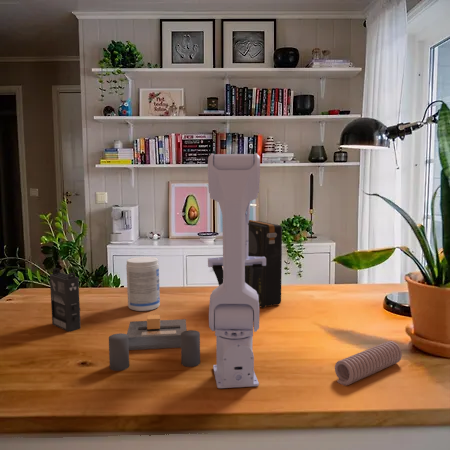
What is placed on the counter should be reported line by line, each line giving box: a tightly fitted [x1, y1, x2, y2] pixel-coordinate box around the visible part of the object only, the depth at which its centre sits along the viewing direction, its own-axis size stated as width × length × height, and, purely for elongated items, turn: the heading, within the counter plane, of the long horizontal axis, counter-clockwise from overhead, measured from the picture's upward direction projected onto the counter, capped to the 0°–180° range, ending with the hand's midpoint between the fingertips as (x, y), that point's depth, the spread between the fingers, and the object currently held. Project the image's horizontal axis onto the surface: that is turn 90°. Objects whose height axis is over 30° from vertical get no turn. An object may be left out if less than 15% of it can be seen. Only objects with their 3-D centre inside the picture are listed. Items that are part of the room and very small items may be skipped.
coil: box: [334, 340, 403, 387], centre depth 91 cm, size 5×5×18 cm
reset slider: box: [146, 314, 161, 329], centre depth 108 cm, size 3×3×2 cm
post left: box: [108, 333, 130, 372], centre depth 93 cm, size 4×4×6 cm
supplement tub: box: [125, 256, 161, 312], centre depth 133 cm, size 10×10×15 cm
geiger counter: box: [49, 267, 82, 332], centre depth 117 cm, size 10×5×15 cm, turn 48°
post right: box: [180, 329, 201, 368], centre depth 95 cm, size 4×4×6 cm
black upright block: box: [245, 219, 283, 309], centre depth 139 cm, size 16×9×25 cm, turn 25°
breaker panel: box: [126, 318, 188, 351], centre depth 108 cm, size 11×14×3 cm
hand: (237, 293), depth 112 cm, fingers open, 7 cm apart
